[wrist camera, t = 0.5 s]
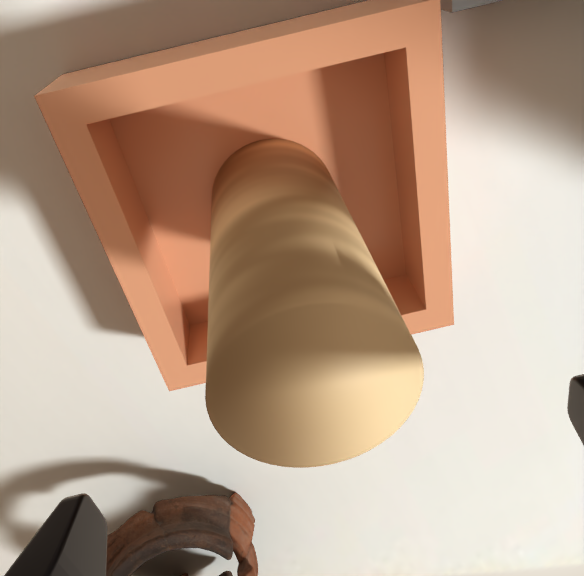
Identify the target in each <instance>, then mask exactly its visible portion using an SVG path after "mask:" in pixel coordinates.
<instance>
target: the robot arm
mask: <svg viewBox="0 0 584 576" xmlns="http://www.w3.org/2000/svg"><path fill="white" fill-rule="evenodd" d="M568 414H569V418H570V420H571V422H572V424H573V426H574V428H575V430H576V432H577V434H578V436H579V437H580V439H581V441H582V443H583V445H584V374H582V375H578V376H574V377H573V378H572V379H571V380H570V386H569V397H568ZM106 559H107V523H106V520H105V518H104V516H103V515H102V513H101V512H100V510H99V509H98V507H97V506H96V505H95V503H94V502H93V500H92V499H91V498H90V496H89V495H87V494H78V495H74V496H70V497H67V498H64V499H63V500H62V501H61V502H60V503H59V504H58V505H57V507H56V508H55V509H54V511H53V512H52V513H51V515H50V516H49V517H48V519H47V520H46V521H45V523H44V524H43V525H42V527H41V528H40V529H39V530H38V532H37V533H36V534H35V536H34V537H33V538H32V540H31V541H30V542H29V544H28V545H27V546H26V548H25V549H24V550H23V552H22V553H21V554H20V555H19V557H18V558H17V559H16V561H15V562H14V563H13V565H12V566H11V567H10V569H9V570H8V571H7V573H6V574H5V575H4V576H106Z"/></svg>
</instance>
